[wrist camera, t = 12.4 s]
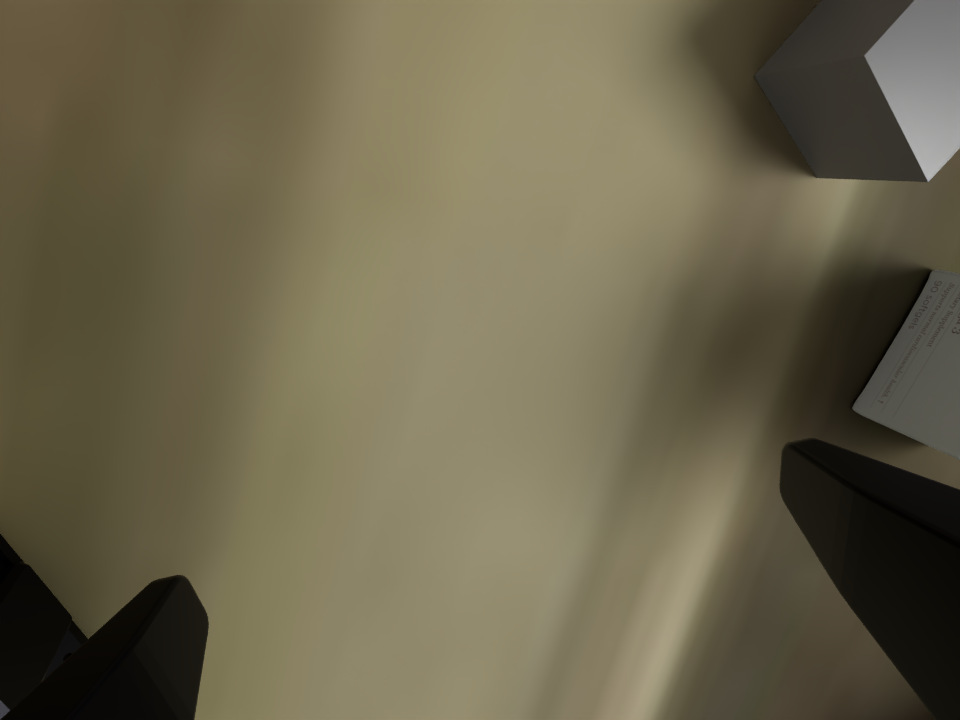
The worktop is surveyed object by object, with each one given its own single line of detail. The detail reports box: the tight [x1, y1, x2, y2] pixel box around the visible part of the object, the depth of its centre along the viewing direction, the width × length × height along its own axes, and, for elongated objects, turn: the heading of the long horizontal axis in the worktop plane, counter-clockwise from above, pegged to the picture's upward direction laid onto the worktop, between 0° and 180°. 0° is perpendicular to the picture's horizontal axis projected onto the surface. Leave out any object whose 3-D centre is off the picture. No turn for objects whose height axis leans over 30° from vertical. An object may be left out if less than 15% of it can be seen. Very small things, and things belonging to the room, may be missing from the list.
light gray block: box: [754, 0, 960, 182], centre depth 19 cm, size 5×5×4 cm
